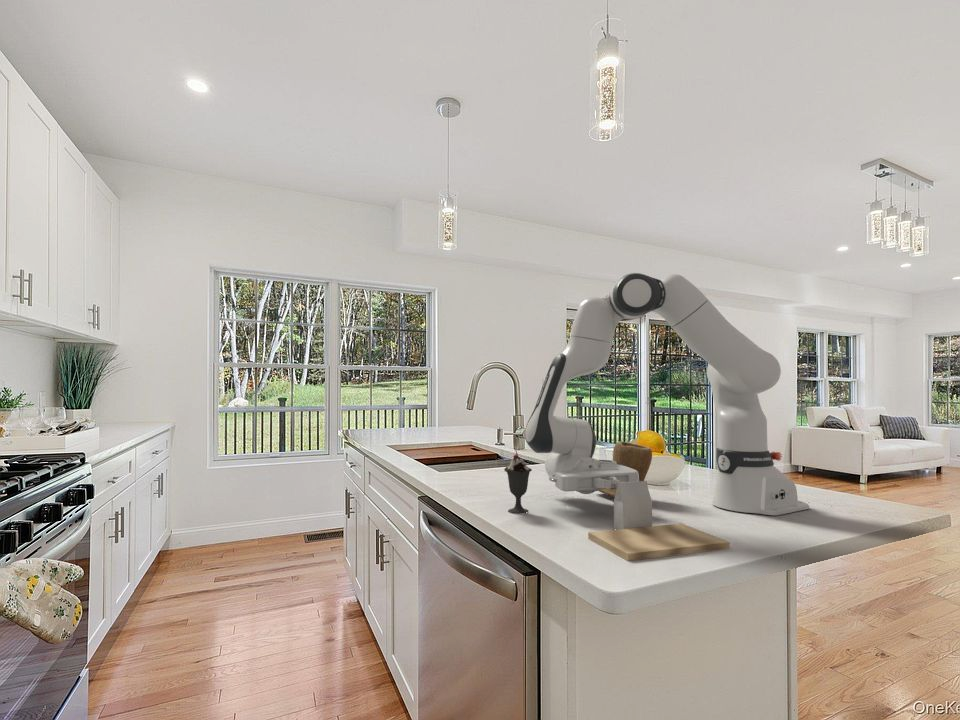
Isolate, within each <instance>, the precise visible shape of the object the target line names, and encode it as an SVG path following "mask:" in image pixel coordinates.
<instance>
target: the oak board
mask: <svg viewBox="0 0 960 720" xmlns="http://www.w3.org/2000/svg"><path fill="white" fill-rule="evenodd" d="M587 534H588V537H587V538H588V539H589V540H590V541H592V542H594V543H595V544H597V545H599V546H601V547H603V549H607V550H608V551H610V552H611V553H612V554H615V555H617V556H618V557H620V558H622V559H624V560H626V561H628V562H630V560H631V561H637V560H646V559H655V558H662V557H663V558H664V557H671V556H679V555H687V554H688V555H689V554H695V553H704V552H712V551H721V550H720V549H722V550H728V549H727V548H730V549H731V542H730V541H729V540H725V538H724V539H723V538H721V537H718V536H716V535H713V534H710V533H708V532H705V531H702V530H700V529H698V528H694V527H692V526H689V525H687V524H685V523H684V524H683V523H682V522H680V523H679V522H678V523H670V524H661V525H660V524H659V525H658V524H657V525H652V526H648V527H638V528H628V529H618V530H615V529H608V530H599V531H598V530H597V531H590V532H588V533H587Z"/></svg>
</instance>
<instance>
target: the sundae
mask: <svg viewBox="0 0 960 720" xmlns="http://www.w3.org/2000/svg"><path fill="white" fill-rule="evenodd" d="M513 449H514V451H515V454H514V455H513V458H512V459H511V460H510V463H509V466H505V467H504V472H506V473H507V478H508V479H507V480H508V487H509V492H510V493H511V494H512V495H513V497H515V505H514V506H513V507H512V508H509V509H508V511H507V512H508V513H510V512H511V513H510V514H514V513H525V514H527V513H526V512H528V511H529V510H528V509H527V508H524V507H523V505H522V501H521V500H522V497H523V496H524V495H525V494H526V493H527V490H528V485H529V477H530V472H531V471H533V469H532V468H530V467H528V465H526V463H525V461H524V459H523V458H522V457H519V455H518V451H517V449H516V447H514V448H513ZM528 513H529V512H528Z"/></svg>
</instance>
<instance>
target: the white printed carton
mask: <svg viewBox="0 0 960 720" xmlns="http://www.w3.org/2000/svg"><path fill="white" fill-rule="evenodd" d="M649 490H650V489H649V486H648V481H646V480H644V481H637V482H620V483H617V490H616V494H615V497H613V530H615V529H616V530H618V529H628V528H638V527H648V526H653V502H652V497H651V493H650V491H649Z"/></svg>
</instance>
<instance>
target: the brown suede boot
mask: <svg viewBox="0 0 960 720" xmlns="http://www.w3.org/2000/svg"><path fill="white" fill-rule="evenodd" d="M652 459H653V452H652V448H651V447H649V446H645V445H641V444H640V445H639V444H634V443H631V442H627V441H622V440H621V441H620V440H619V441H617V442H616V443H615V444H614V446H613V450H612V461H616V462H617V464H618V465H623V466H626V467H629V468H632V469H635V470H637V471H638V473H639V481H645V479H646V477H647V474H648V473H649V472H648V471H649V469H650V467H651V464H652ZM616 490H617V489H609V490H608V489H602V490H599V491H598V492H600V493H601V494H604V495H607V496H610V497H613V498H615V494H616Z"/></svg>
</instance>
